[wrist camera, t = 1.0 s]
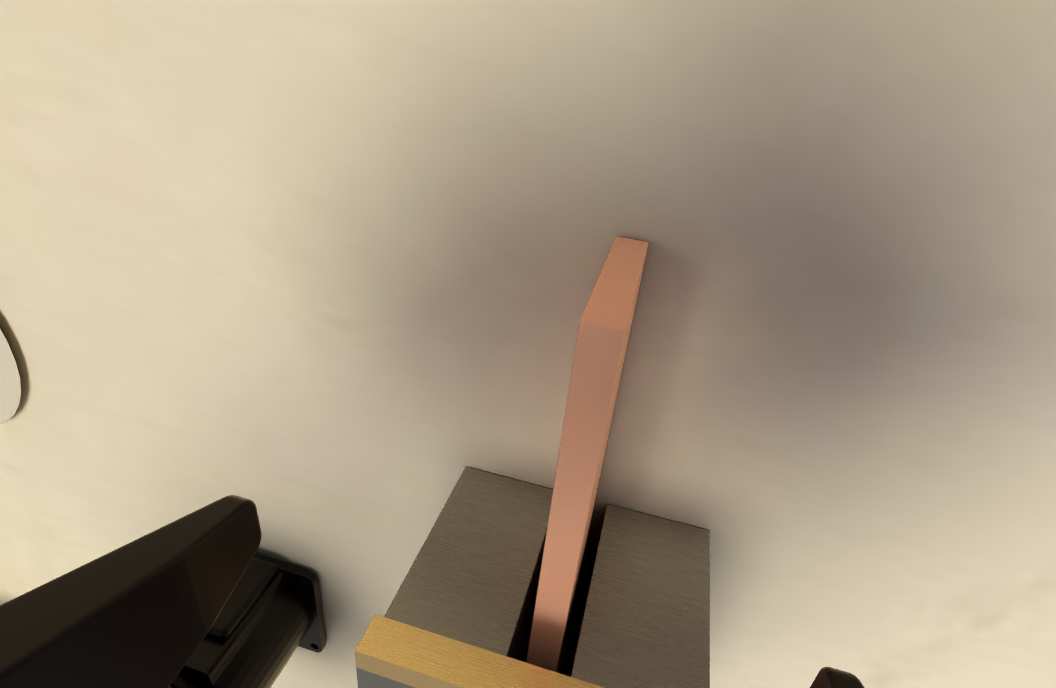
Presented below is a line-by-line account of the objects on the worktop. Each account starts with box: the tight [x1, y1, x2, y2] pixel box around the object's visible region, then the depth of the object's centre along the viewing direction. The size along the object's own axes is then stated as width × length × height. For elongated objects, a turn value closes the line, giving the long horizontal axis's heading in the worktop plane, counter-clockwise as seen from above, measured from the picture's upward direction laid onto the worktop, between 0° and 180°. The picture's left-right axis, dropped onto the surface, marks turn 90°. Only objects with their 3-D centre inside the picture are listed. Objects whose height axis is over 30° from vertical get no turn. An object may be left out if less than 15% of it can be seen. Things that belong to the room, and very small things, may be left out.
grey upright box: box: [355, 467, 710, 688], centre depth 22 cm, size 10×10×9 cm
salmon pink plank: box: [526, 236, 649, 673], centre depth 20 cm, size 18×1×6 cm, turn 174°
